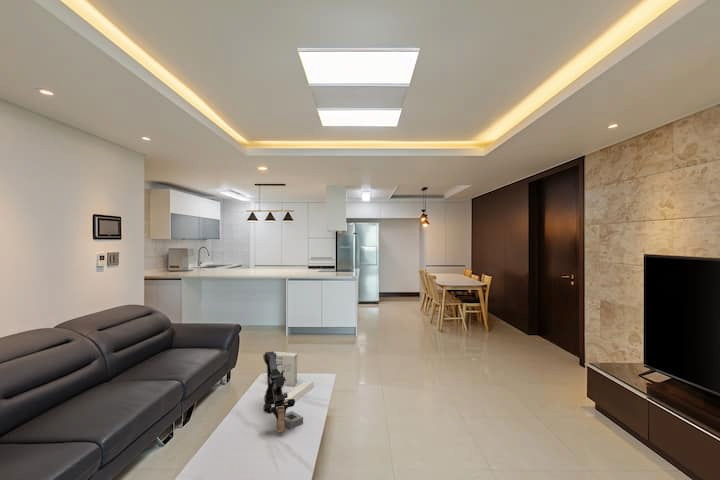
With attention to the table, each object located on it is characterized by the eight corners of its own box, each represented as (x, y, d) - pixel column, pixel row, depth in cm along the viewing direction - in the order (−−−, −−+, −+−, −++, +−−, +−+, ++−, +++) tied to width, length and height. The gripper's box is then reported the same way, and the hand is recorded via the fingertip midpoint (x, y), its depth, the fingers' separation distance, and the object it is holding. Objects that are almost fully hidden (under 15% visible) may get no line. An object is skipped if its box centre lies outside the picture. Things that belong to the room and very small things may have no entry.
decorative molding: (280, 406, 253) (292, 405, 250) (279, 400, 254) (290, 398, 251) (303, 388, 285) (314, 387, 282) (302, 382, 286) (313, 381, 283)
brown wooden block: (276, 427, 213) (277, 407, 213) (282, 426, 214) (282, 406, 214) (278, 432, 208) (278, 410, 208) (284, 430, 210) (284, 409, 210)
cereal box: (268, 384, 285) (269, 354, 286) (272, 381, 293) (272, 351, 293) (293, 386, 282) (294, 355, 282) (296, 383, 289) (297, 353, 290)
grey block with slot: (279, 422, 225) (279, 416, 225) (292, 417, 232) (292, 410, 233) (290, 429, 217) (290, 422, 217) (303, 423, 224) (303, 417, 224)
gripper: (264, 390, 211) (267, 417, 201) (294, 385, 219) (298, 411, 209) (261, 398, 218) (264, 424, 208) (291, 393, 226) (295, 418, 216)
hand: (281, 419), depth 210 cm, fingers closed on brown wooden block, 3 cm apart
